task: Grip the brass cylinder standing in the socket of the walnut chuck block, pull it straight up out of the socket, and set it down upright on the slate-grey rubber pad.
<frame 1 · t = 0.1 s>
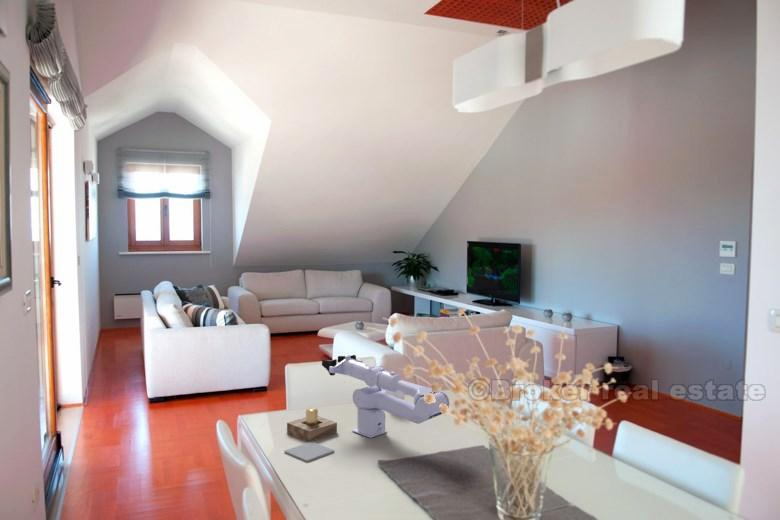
hand: (330, 360, 219), 22 cm above the table, tool horizontal, fingers open, 7 cm apart
pad: (309, 452, 189), on the table
white cup: (394, 409, 233), on the table
brass cylinder: (312, 421, 206), in the chuck block
chuck block: (312, 432, 206), on the table
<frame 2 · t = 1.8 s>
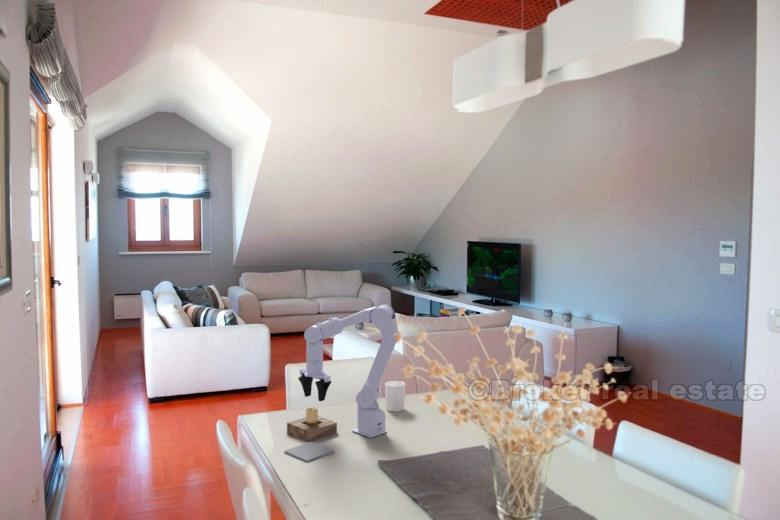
hand: (314, 398, 211), 10 cm above the table, tool pointing down, fingers open, 7 cm apart
nothing on the table moved.
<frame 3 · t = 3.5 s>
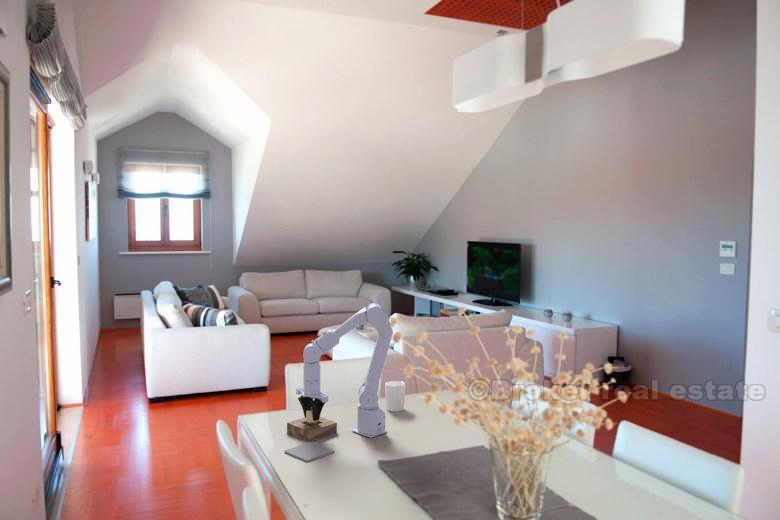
hand: (311, 418, 206), 5 cm above the table, tool pointing down, fingers closed on brass cylinder, 4 cm apart
brass cylinder: (311, 421, 206), in the chuck block, touching gripper
everything else where it was.
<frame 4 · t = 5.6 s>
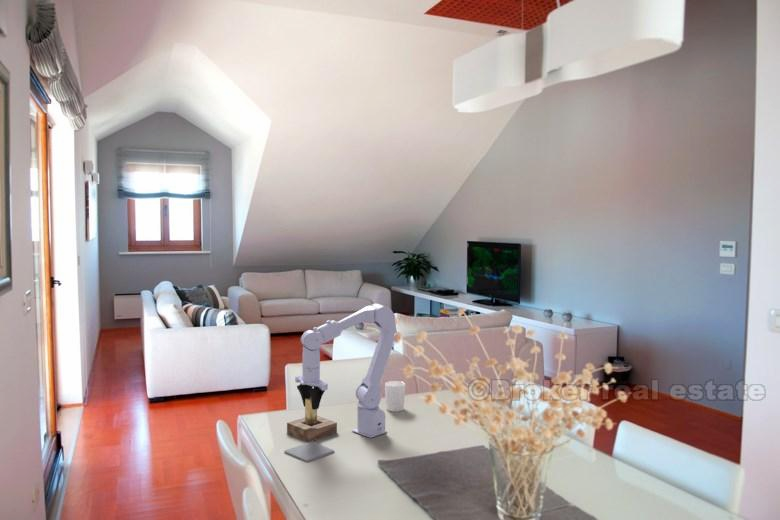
hand: (311, 407, 201), 10 cm above the table, tool pointing down, fingers closed on brass cylinder, 4 cm apart
brass cylinder: (311, 410, 201), point 10 cm above the table, touching gripper
everything else where it was.
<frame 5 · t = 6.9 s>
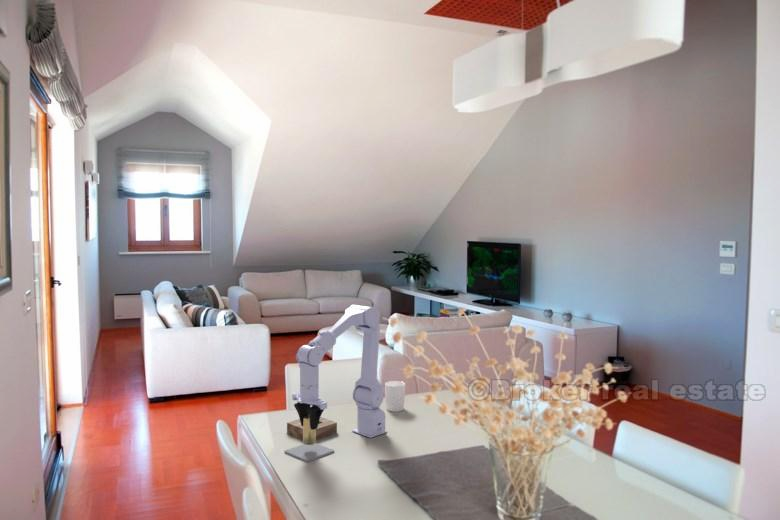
hand: (309, 427, 188), 8 cm above the table, tool pointing down, fingers closed on brass cylinder, 4 cm apart
brass cylinder: (309, 430, 188), point 7 cm above the table, touching gripper
everything else where it was.
when the fingers open (6 cm above the table, at t = 7.7 s): brass cylinder stays where it is, resting on pad.
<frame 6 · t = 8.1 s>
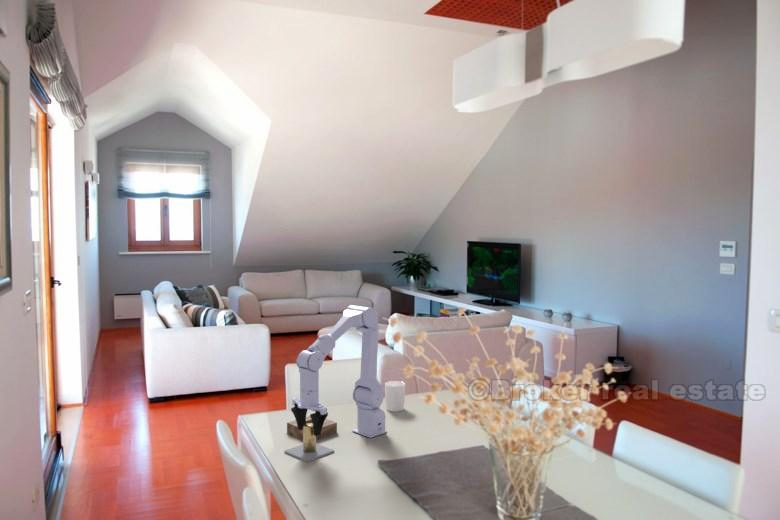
hand: (309, 432, 188), 6 cm above the table, tool pointing down, fingers open, 7 cm apart
brass cylinder: (309, 437, 189), on the pad, point 5 cm above the table
everything else where it was.
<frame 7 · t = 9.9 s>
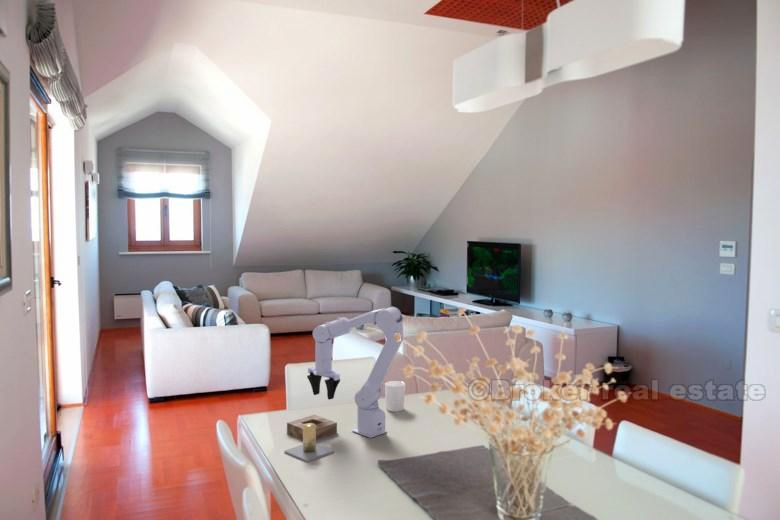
hand: (323, 396, 213), 10 cm above the table, tool pointing down, fingers open, 7 cm apart
nothing on the table moved.
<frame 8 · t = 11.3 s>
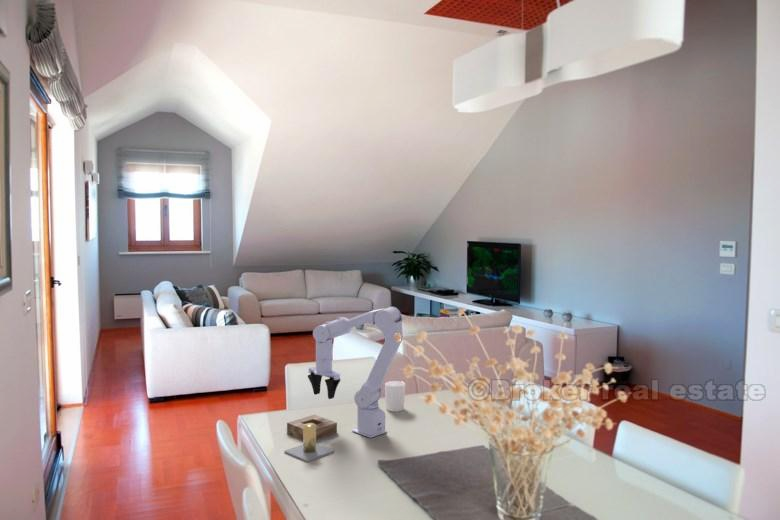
hand: (323, 396, 214), 10 cm above the table, tool pointing down, fingers open, 7 cm apart
nothing on the table moved.
at the end: brass cylinder inside the target area on the pad (0.1 cm from its centre), point 4.6 cm above the pad's base; brass cylinder tilted 1°; the gripper is holding nothing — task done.
